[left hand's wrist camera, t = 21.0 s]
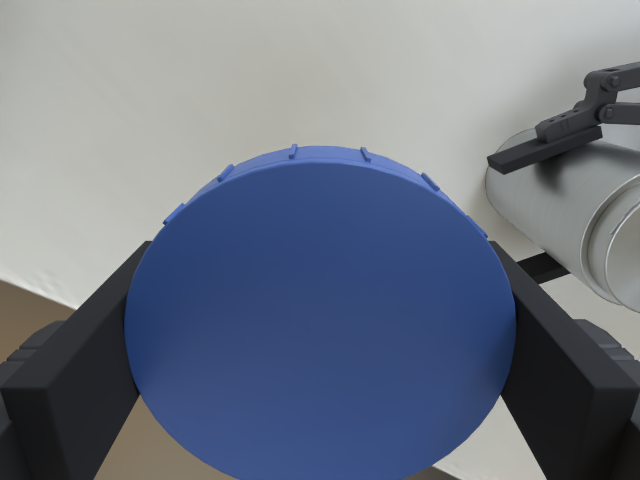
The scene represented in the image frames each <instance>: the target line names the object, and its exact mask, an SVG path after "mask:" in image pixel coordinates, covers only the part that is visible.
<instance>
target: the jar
mask: <svg viewBox="0 0 640 480" xmlns="http://www.w3.org/2000/svg"><path fill="white" fill-rule="evenodd" d="M534 138H537V135H536V130H535V128H533V129H529V130H525V131H523V132H521V133H518V134H516V135H515V136H513V137H511V138H510V139H509V140H508V141H506V142H505V143H504V144H503V145H502V146H501V147H500V148H499V149H498V151H497V152H496V153H498V152H501V151H503V150H506V149H509V148H511V147H514V146H516V145H519V144H521V143H524V142H527V141H529V140H532V139H534ZM496 153H495V154H496ZM485 184H486V193H487V196H488V199H489V201H490V203H491V205H492V206H493V208H494V209H495V210H496V211H497V212H498V213H499V214H500V215H501V216H503V217H504V218H505V219H506V220H508V221H509V222H510V223H511V224H512V225H514V226H515V227H516V228H517V229H518V230H520V231H521V232H522V233H523V234H524V235H526V236H527V237H528V238H529V239H531V240H532V241H533V242H534V243H535V244H537V245H538V246H539V247H540V248H541V249H543V250H544V251H545V252H546V253H547V254H549V255H550V256H551V257H552V258H554V259H555V260H556V261H557V262H558V263H560V264H561V265H562V266H563V267H564V268H566V269H567V270H568V271H569V272H571V273H572V274H573V275H574V276H575V277H577V278H578V279H579V280H580V281H581V282H583V283H584V284H585V285H586V286H587V287H589V288H590V289H591V290H592V291H594V292H595V293H596V294H597V295H599V296H600V297H602V298H603V299H605V300H607V301H609V302H611V303H614V304H617V305H622V306H625V307H626V308H628V309H630V310H632V311H635V312H638V313H640V152H639V151H635V150H632V149H628V148H624V147H621V146H617V145H613V144H609V143H606V142H602V141H598V140H595V141H592V142H590V143H587V144H584V145H582V146H579V147H576V148H574V149H571V150H569V151H566V152H563V153H561V154H558V155H556V156H553V157H550V158H548V159H545V160H542V161H540V162H537V163H535V164H532V165H529V166H527V167H524V168H521V169H519V170H516V171H514V172H511V173H508V174H506V175H503V174H501V173H499V172H498V171H496V170H494V169H493V168H491V167H488V170H487V174H486V182H485Z"/></svg>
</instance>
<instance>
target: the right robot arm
mask: <svg viewBox="0 0 640 480" xmlns="http://www.w3.org/2000/svg"><path fill="white" fill-rule="evenodd" d="M584 86H585V88H586V89H587V90H586V96H585V99H584V100H583V101H579V102H578V103H576V105H575V106H574V108H573V109H572V110H570V111H567V112H565V113H562V114H560V115H557V116H554V117H552V118H550V119H547V120H544V121H542V122H540V123H539V124H538V125H537V126H536V127H535V130H536V135H537V138H534V139H532V140H529V141H527V142H524V143H521V144H519V145H516V146H514V147H511V148H509V149H506V150H503V151H501V152H498V153H496V154H493V155H491V156H488V157H487V160H488V163H489V167H491V168H493V169H494V170H496V171H498V172H499V173H501V174H503V175H506V174H508V173H511V172H514V171H516V170H519V169H521V168H524V167H527V166H529V165H532V164H535V163H537V162H540V161H542V160H545V159H548V158H550V157H553V156H556V155H558V154H561V153H563V152H566V151H569V150H571V149H574V148H576V147H579V146H582V145H584V144H587V143H590V142H592V141H595V140H598V139H600V138H603V136H602V131H601V126H596V125H599V124H602V123H606V124H630V125H640V103H623V102H616V98H617V92H618V91H622V90H627V89H632V88H637V87H640V62H636V63H631V64H626V65H621V66H617V67H612V68H607V69H602V70H598V71H593V72H591V73H589V74H588V75H587V76H586V77H585V79H584ZM516 263H517V264H518V265H519V266H520V267H521V268H522V269H523V270H524V271H525V272H526V273H527V274H528V275H529V276H530V277H531V278H532V279H533V280H534V281H535V282H536V283H537V284H541V283H544V282H547V281H550V280H553V279H556V278H559V277H562V276H564V275H567V274H570V273H571V272H569V271H568V270H567V269H566V268H564V267H563V266H562V265H561V264H560V263H558V262H557V261H556V260H555V259H554V258H552V257H551V256H550V255H549V254H547V253H546V252H544V253H541V254H538V255H535V256H532V257H530V258H527V259H524V260H521V261H518V262H516Z"/></svg>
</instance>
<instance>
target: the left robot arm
mask: <svg viewBox="0 0 640 480" xmlns="http://www.w3.org/2000/svg"><path fill="white" fill-rule="evenodd" d="M488 242H489V243H490V245H491V247H492V248H493V250H494V251H495V253H496V254H497V256H498V258H499V259H500V262H501V264H502V266H503V268H504V271H505V273H506V275H507V278H508V280H509V283H510V287H511V291H512V295H513V299H514V303H515V313H516V323H517V329H516V340H515V346H514V352H513V357H512V362H511V367H510V372H509V375H508V377H507V380H506V383H505V385H504V388H503V390H502V392H501V394H500V395H501V397H502V398H503V400H504V402H505V404H506V406H507V407H508V409H509V411H510V413H511V415H512V417H513V418H514V420H515V422H516V424H517V426H518V428H519V429H520V431H521V433H522V435H523V437H524V438H525V440H526V442H527V444H528V446H529V448H530V449H531V451H532V453H533V455H534V457H535V459H536V460H537V462H538V464H539V466H540V468H541V470H542V471H543V473H544V475H545V477H546V479H547V480H640V362H639V361H638V360H634V356H632V355H631V354H630V353H629V352H628V351H627V350H626V349H625V348H622V347H621V344H620V343H618V342H617V341H616V340H615V339H614V338H613V337H612V336H611V335H610V334H609V333H608V332H607V331H605V330H603V329H601V328H600V327H598V326H596V325H594V324H592V323H591V322H589V321H587V320H585V319H572V318H571V317H570V316H569V315H568V314H567V313H566V312H565V311H564V310H563V309H562V308H561V307H560V306H559V305H558V304H557V303H556V302H555V301H554V300H553V299H552V298H551V297H550V296H549V295H548V294H547V293H546V292H545V291H544V290H543V289H542V288H541V287H540V286H539V285H538V284H537V283H536V282H535V281H534V280H533V279H532V278H531V277H530V276H529V275H528V274H527V273H526V272H525V271H524V270H523V269H522V268H521V267H520V266H519V265H518V264H517V263H516V262H515V261H514V260H513V259H512V258H511V257H510V256H509V255H508V254H507V253H506V252H505V251H504V250H503V249H502V248H501V247H500V246H499V245H498V244H497V243H496V242H495V241H488ZM151 243H152V241H145V242H144V243H143V244H142V245H141V246H140V247H139V248H138V249H137V250H136V251H135V252H134V253H133V254H132V255H131V256H130V257H129V258H128V259H127V260H126V261H125V262H124V263H123V264H122V265H121V266H120V267H119V268H118V269H117V270H116V271H115V272H114V273H113V274H112V275H111V276H110V277H109V278H108V279H107V280H106V281H105V282H104V283H103V284H102V285H101V286H100V287H99V288H98V289H97V290H96V291H95V292H94V293H93V294H92V295H91V296H90V297H89V298H88V299H87V300H86V301H85V302H84V303H83V304H82V305H81V306H80V307H79V308H78V309H77V310H76V311H75V312H74V313H73V314H72V315H71V316H70V317H69V318H68V319H67V320H66V321H55V322H53V323H51V324H49V325H47V326H46V327H44V328H42V329H40V330H38V331H37V332H35V333H34V334H33V335H32V336H30V337H29V338H28V339H27V340H26V341H25V342H24V343H23V344H22V345H21V346H20V347H19V350H15V351H14V352H13V353H12V354H11V355H10V356H9V357H8V358H7V361H6V362H3V363H2V364H0V480H93V479H94V477H95V476H96V474H97V472H98V470H99V468H100V466H101V464H102V463H103V461H104V459H105V457H106V455H107V454H108V452H109V450H110V448H111V446H112V444H113V443H114V441H115V439H116V437H117V435H118V434H119V432H120V430H121V428H122V426H123V424H124V423H125V421H126V419H127V417H128V415H129V413H130V412H131V410H132V408H133V406H134V404H135V403H136V401H137V399H138V397H139V395H140V393H139V390H138V388H137V386H136V384H135V382H134V379H133V376H132V373H131V369H130V365H129V360H128V354H127V349H126V344H125V338H124V315H125V308H126V302H127V295H128V292H129V289H130V285H131V282H132V279H133V276H134V273H135V271H136V269H137V267H138V265H139V263H140V261H141V259H142V257H143V255H144V253H145V251H146V250H147V248H148V247H149V245H150V244H151Z"/></svg>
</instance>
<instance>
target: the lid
mask: <svg viewBox="0 0 640 480" xmlns="http://www.w3.org/2000/svg"><path fill="white" fill-rule="evenodd" d="M163 224H164V225H165V226H164V227H163V228H162V229H161V230H160V232H159V233H158V234H157V236H156V237H155V238H154V240H153V241H152V243H151V244H150V245H149V247H148V248H147V250H146V251H145V253H144V255H143V257H142V259H141V261H140V263H139V265H138V267H137V269H136V271H135V273H134V276H133V279H132V282H131V285H130V289H129V292H128V295H127V302H126V308H125V315H124V338H125V344H126V349H127V354H128V360H129V365H130V369H131V373H132V376H133V379H134V382H135V384H136V386H137V388H138V390H139V393H140V395H141V397H142V399H143V401H144V402H145V404H146V405H147V407H148V408H149V410H150V411H151V413H152V414H153V416H154V417H155V419H156V420H157V421H158V422H159V423H160V424H161V426H162V427H163V428H164V429H165V430H166V431H167V433H168V434H169V435H170V436H171V437H172V438H174V439H175V440H176V441H177V442H178V443H179V444H180V445H181V446H182V447H183V448H185V449H186V450H187V451H189V452H190V453H191V454H193V455H194V456H196V457H197V458H198V459H200V460H201V461H203V462H204V463H206V464H208V465H210V466H212V467H213V468H215V469H217V470H219V471H221V472H222V473H225V474H227V475H230V476H232V477H234V478H236V479H239V480H402V479H404V478H407V477H409V476H412V475H414V474H416V473H418V472H420V471H422V470H424V469H426V468H428V467H429V466H431V465H433V464H434V463H436V462H437V461H439V460H441V459H442V458H444V457H445V456H447V455H448V454H450V453H451V452H452V451H453V450H454V449H456V448H457V447H458V446H459V445H460V444H462V443H463V442H464V441H465V440H466V439H467V438H468V437H469V436H470V435H471V434H472V433H473V432H474V431H475V430H476V429H477V428H478V427H479V426H480V424H481V423H482V422H483V420H484V419H485V418H486V416H487V415H488V414H489V412H490V411H491V410H492V408H493V407H494V405H495V403H496V401H497V399H498V397H499V396H500V394H501V392H502V390H503V388H504V385H505V383H506V380H507V377H508V375H509V372H510V367H511V362H512V357H513V352H514V346H515V340H516V329H517V323H516V313H515V303H514V299H513V295H512V291H511V287H510V283H509V280H508V278H507V275H506V273H505V271H504V268H503V266H502V264H501V262H500V259H499V258H498V256H497V254H496V253H495V251H494V250H493V248H492V247H491V245H490V243H489V242H488V240H487V239H486V238H487V237H488V236H487V234H486V233H485V232H484V231H483V230H482V229H481V228H480V227H479V226H478V225H477V224H476V223H475V222H474V221H473V220H472V219H471V218H470V217H469V216H468V215H467V216H466V215H465V214H464V213H463V212H462V211H461V210H460V209H459V208H458V207H457V206H456V205H455V204H454V203H453V202H452V201H451V199H450V198H449V197H448V196H447V195H445V194H444V193H443V192H442V191H441V190H440V188H439V187H438V186H437V185H436V184H435V183H434V182H433V181H432V180H431V179H430V178H429V177H428V176H427V175H426V174H425V173H422V174H421V175H420V174H418V173H416V172H415V171H413V170H412V169H410V168H408V167H406V166H404V165H402V164H400V163H397V162H395V161H393V160H391V159H388V158H386V157H383V156H380V155H376V154H373V153H369V152H367V150H366V148H364V147H361V150H357V149H350V148H344V147H338V146H306V147H297V144H293V145H292V147H291V148H288V149H283V150H279V151H275V152H271V153H267V154H263V155H260V156H258V157H255V158H253V159H250V160H248V161H245V162H243V163H240V164H238V165H236V166H235V167H234V166H233V164H231V165H229V166H228V167H227V168H226V169H225V170H224V171H223V172H222V173H221V174H220V175H219V176H217V177H216V178H215V179H213V180H212V181H211V182H209V183H208V184H207V185H206V186H204V187H203V188H202V189H200V190H199V191H198V192H197V193H196V194H195V195H194V196H193V197H192V198H191V199H190V200H189V201H188V203H187V204H186V205H184V204H183V203H182V204H181V205H180V206H179V207H178V208H177V209H176V210H175V211H174V212H173V213H172V214H170V215H169V216H168V217H167V218H166V219H165V221H164V222H163Z"/></svg>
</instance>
